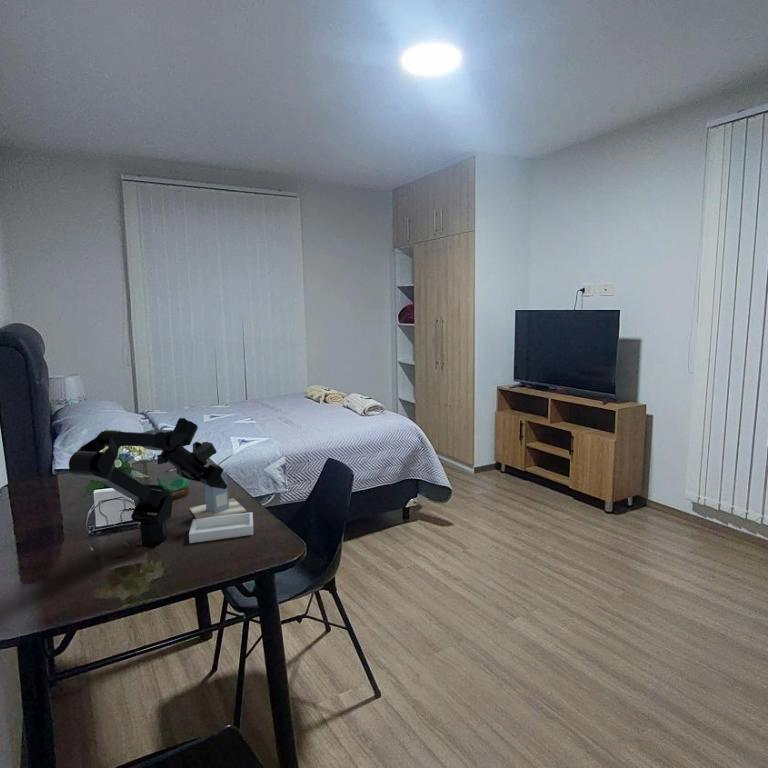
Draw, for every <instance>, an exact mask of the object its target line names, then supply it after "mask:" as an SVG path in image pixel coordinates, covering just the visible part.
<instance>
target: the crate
mask: <svg viewBox="0 0 768 768" xmlns="http://www.w3.org/2000/svg"><path fill="white" fill-rule="evenodd" d="M253 535H254V514H253V511H251V512H247V513H241V514H233V515H225V516H217V517H209V518H201V519H196V518H195V519H194V518H193V519H192V522H191V526H190V528H189V533H188V541H189V544H194V543H200V542H201V543H202V542H210V541H216V540H225V539H232V538H240V537H245V536H246V537H247V536H253Z"/></svg>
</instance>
